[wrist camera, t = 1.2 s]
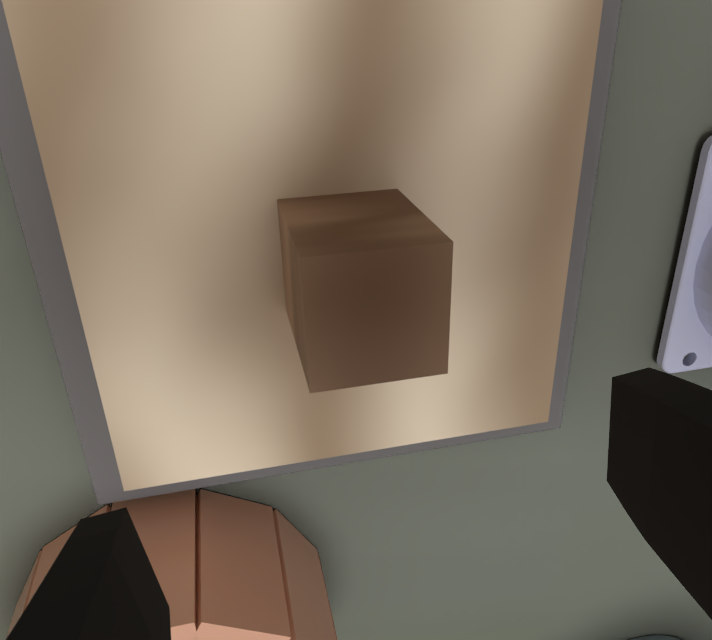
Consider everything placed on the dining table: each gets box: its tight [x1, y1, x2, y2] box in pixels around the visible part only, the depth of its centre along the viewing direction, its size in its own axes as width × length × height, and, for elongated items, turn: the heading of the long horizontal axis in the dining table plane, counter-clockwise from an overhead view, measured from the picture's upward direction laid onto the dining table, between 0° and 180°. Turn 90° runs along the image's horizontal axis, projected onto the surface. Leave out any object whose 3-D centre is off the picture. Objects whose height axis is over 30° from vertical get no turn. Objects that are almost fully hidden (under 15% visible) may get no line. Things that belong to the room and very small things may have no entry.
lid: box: [2, 0, 603, 491], centre depth 15 cm, size 13×13×5 cm
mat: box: [0, 0, 622, 505], centre depth 17 cm, size 15×15×1 cm
